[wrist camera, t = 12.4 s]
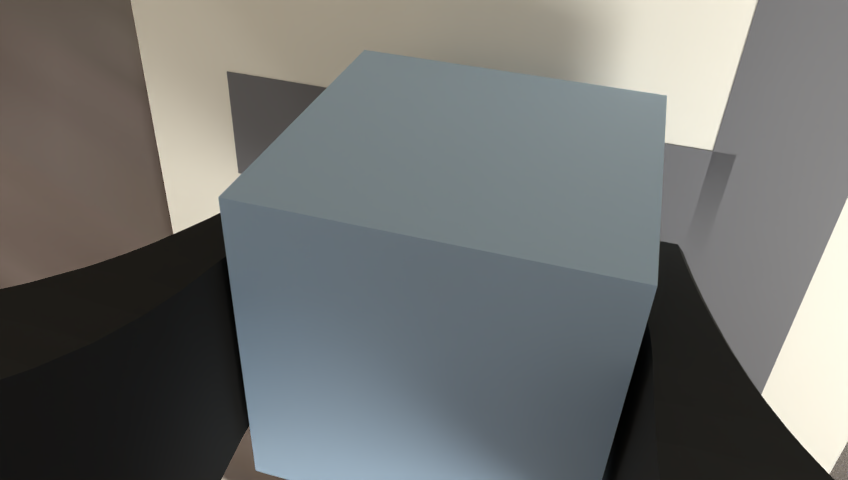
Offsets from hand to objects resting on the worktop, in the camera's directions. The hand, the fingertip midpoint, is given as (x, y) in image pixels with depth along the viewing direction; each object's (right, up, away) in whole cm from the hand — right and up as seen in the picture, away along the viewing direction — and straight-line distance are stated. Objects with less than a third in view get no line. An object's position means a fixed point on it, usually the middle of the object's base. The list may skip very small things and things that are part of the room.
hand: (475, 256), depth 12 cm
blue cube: (0, +1, +1) cm, 2 cm away
